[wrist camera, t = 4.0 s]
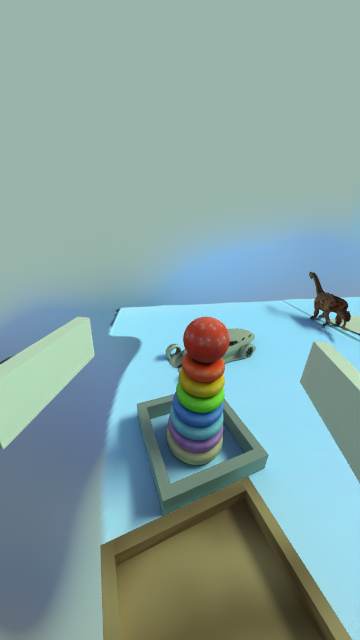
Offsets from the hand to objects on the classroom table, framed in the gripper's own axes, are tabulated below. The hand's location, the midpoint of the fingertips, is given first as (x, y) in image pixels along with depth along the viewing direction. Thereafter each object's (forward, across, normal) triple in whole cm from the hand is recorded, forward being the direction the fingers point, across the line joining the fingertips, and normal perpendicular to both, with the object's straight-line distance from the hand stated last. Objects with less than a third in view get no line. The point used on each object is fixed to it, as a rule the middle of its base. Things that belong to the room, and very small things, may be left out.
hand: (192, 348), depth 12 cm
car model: (+34, +4, -21) cm, 40 cm away
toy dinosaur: (+62, +41, -20) cm, 78 cm away
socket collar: (+10, +1, -21) cm, 23 cm away
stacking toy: (+10, +1, -21) cm, 23 cm away
